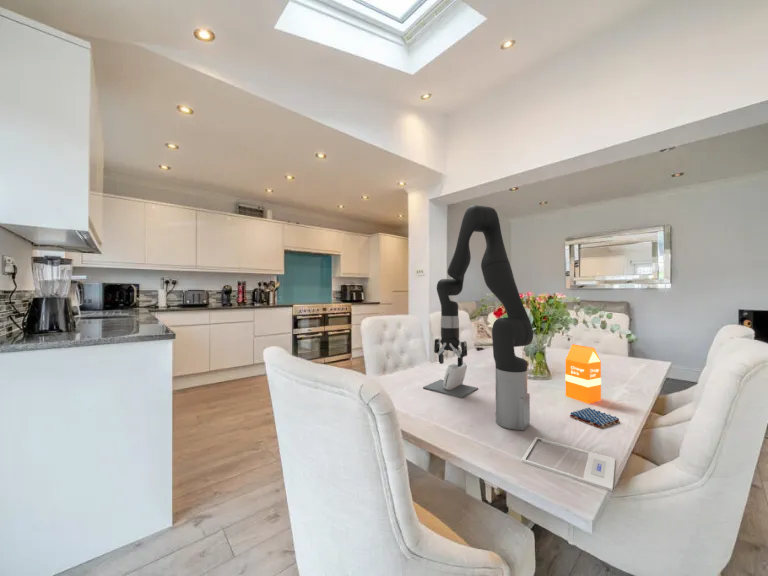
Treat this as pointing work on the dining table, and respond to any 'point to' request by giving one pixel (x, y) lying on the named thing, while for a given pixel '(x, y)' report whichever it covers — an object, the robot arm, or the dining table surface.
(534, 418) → the dining table surface
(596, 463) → the photo frame
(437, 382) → the charcoal mat
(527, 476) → the dining table surface
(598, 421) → the woven mat
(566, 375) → the orange juice
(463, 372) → the photo printer
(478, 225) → the robot arm
